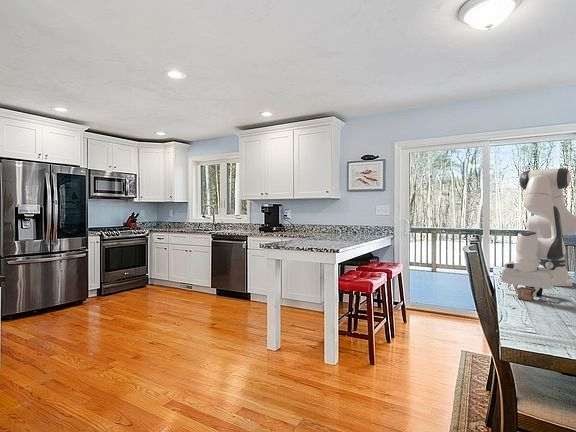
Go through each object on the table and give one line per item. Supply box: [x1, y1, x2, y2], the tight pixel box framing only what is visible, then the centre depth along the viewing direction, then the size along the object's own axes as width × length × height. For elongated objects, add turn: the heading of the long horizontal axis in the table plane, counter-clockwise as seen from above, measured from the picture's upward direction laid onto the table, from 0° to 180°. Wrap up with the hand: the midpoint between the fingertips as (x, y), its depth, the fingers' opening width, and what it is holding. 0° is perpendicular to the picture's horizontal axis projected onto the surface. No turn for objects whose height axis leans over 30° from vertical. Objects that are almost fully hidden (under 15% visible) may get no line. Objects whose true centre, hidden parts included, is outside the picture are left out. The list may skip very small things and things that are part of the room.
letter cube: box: [517, 286, 535, 302], centre depth 168 cm, size 5×5×5 cm
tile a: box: [537, 296, 561, 304], centre depth 165 cm, size 7×7×1 cm
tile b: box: [505, 291, 518, 298], centre depth 176 cm, size 7×7×1 cm
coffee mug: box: [524, 286, 544, 297], centre depth 178 cm, size 12×9×10 cm
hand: (525, 295), depth 168 cm, fingers closed on letter cube, 5 cm apart
